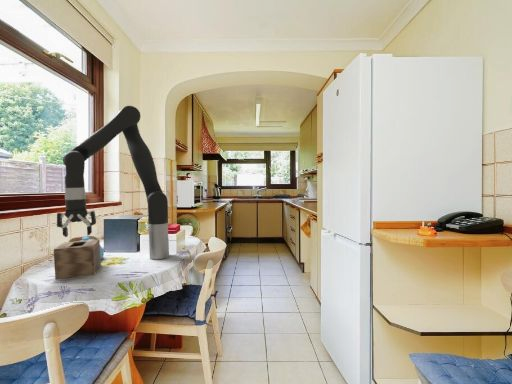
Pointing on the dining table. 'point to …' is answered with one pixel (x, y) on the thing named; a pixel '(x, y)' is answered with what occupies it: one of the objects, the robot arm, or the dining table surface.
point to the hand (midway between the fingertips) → (77, 235)
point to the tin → (81, 238)
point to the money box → (77, 258)
